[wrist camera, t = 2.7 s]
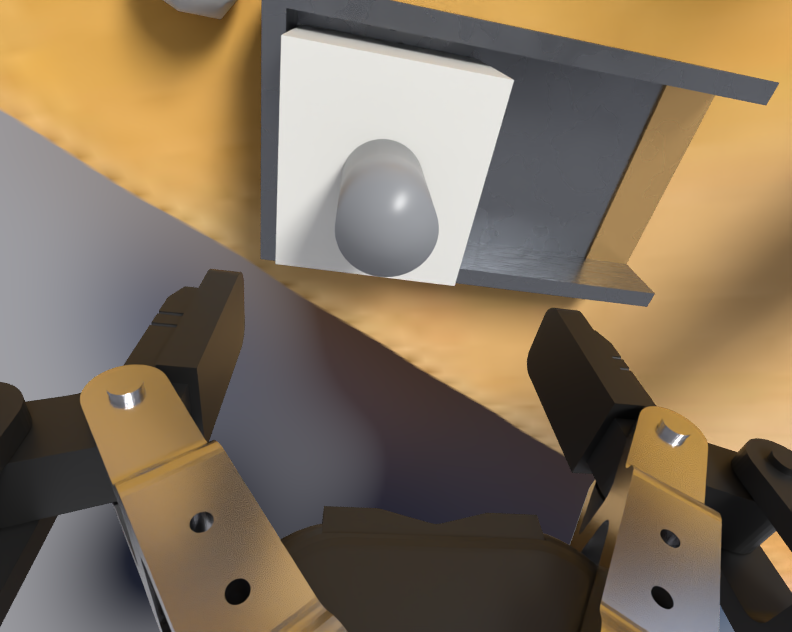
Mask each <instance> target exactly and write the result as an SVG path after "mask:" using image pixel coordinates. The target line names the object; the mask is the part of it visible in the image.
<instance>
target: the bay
mask: <svg viewBox="0 0 792 632" xmlns="http://www.w3.org/2000/svg"><path fill="white" fill-rule="evenodd" d="M302 24H304V25H309V26H314V27H319V28H324V29H329V30H334V31H339V32H344V33H349V34H354V35H359V36H364V37H369V38H374V39H379V40H384V41H389V42H394V43H400V44H405V45H410V46H415V47H420V48H425V49H430V50H435V51H440V52H445V53H450V54H455V55H460V56H465V57H470V58H475V59H479V60H480V61H482V62H484V63H486V64H487V65H489V66H491V67H492V68H494V69H496V70H498V71H499V72H501V73H503V74H504V75H506V76H508V77H510V78H511V79H513V80H514V82H513V86H512V89H511V93H510V96H509V100H508V103H507V106H506V110H505V113H504V117H503V120H502V124H501V127H500V131H499V134H498V138H497V141H496V144H495V148H494V151H493V155H492V158H491V162H490V165H489V169H488V172H487V176H486V179H485V182H484V186H483V189H482V193H481V196H480V200H479V203H478V207H477V210H476V214H475V217H474V220H473V224H472V227H471V231H470V234H469V238H468V241H467V245H466V248H465V252H464V255H463V258H462V262H461V265H460V269H459V272H458V276H457V279H456V283H459V284H467V285H475V286H483V287H491V288H500V289H508V290H516V291H524V292H532V293H540V294H548V295H556V296H564V297H572V298H580V299H589V300H597V301H605V302H613V303H621V304H629V305H637V306H645V307H647V306H648V304H649V303H650V301H651V299H652V297H653V296H654V294H655V293H654V292H653V291H652V290H651V289H650V288H649V287H648V286H647V285H646V284H645V283H644V282H643V281H642V280H641V279H640V278H639V277H638V276H637V275H636V274H635V273H634V272H633V271H632V269H631V268H630V267H629V266H628V265H627V262H628V260H629V258H630V256H631V254H632V252H633V250H634V248H635V247H636V245H637V243H638V241H639V239H640V237H641V235H642V233H643V231H644V229H645V228H646V226H647V224H648V222H649V220H650V218H651V216H652V214H653V212H654V210H655V209H656V207H657V205H658V203H659V201H660V199H661V197H662V195H663V193H664V191H665V189H666V188H667V186H668V184H669V182H670V180H671V178H672V176H673V174H674V172H675V170H676V169H677V167H678V165H679V163H680V161H681V159H682V157H683V155H684V153H685V151H686V150H687V148H688V146H689V144H690V142H691V140H692V138H693V136H694V134H695V132H696V131H697V129H698V127H699V125H700V123H701V121H702V119H703V117H704V115H705V113H706V111H707V110H708V108H709V106H710V104H711V102H712V100H713V98H714V96H715V95H717V96H722V97H727V98H732V99H737V100H742V101H747V102H752V103H757V104H762V105H767V103H768V101H769V100H770V98H771V96H772V94H773V93H774V91H775V89H776V88H777V86H778V84H779V83H778V82H773V81H768V80H764V79H759V78H754V77H750V76H745V75H741V74H736V73H731V72H727V71H722V70H717V69H713V68H708V67H703V66H699V65H694V64H689V63H685V62H680V61H675V60H670V59H666V58H661V57H656V56H652V55H647V54H642V53H637V52H633V51H628V50H623V49H619V48H614V47H609V46H605V45H600V44H595V43H590V42H586V41H581V40H576V39H572V38H567V37H562V36H557V35H553V34H548V33H543V32H539V31H534V30H529V29H524V28H520V27H515V26H510V25H506V24H501V23H496V22H492V21H487V20H482V19H477V18H473V17H468V16H463V15H459V14H454V13H449V12H444V11H440V10H435V9H430V8H426V7H421V6H416V5H411V4H407V3H402V2H397V1H393V0H262V38H261V259H265V260H273V261H276V223H277V184H278V144H279V104H280V65H281V35H282V34H284V33H286V32H288V31H290V30H292V29H294V28H296V27H298V26H300V25H302Z"/></svg>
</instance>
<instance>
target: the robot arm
mask: <svg viewBox="0 0 792 632" xmlns="http://www.w3.org/2000/svg"><path fill="white" fill-rule="evenodd" d="M244 318H245V315H244V280H243V274H242V273H241V272H234V271H224V270H216V269H210V270H208V272H207V274H206V275H205V277H204V279H203V281H202V283H201V284H200V286H199V288H194V287H183V288H182V289H180V290H179V291H177V292H176V293H174V294H172V295H171V296H169V297H168V298H167V299H166V301H165V303H164V304H163V306H162V307H161V309H160V310H159V314H157V315H156V317H155V318H154V320H153V321H152V325H150V326H149V327H148V329H147V330H146V332H145V333H144V335H143V336H142V338H141V339H140V341H139V342H138V344H137V346H136V347H135V349H134V350H133V352H132V353H131V355H130V356H129V358H128V359H127V361H126V363H125V364H124V366H120V367H116V368H113V369H110V370H107V371H105V372H103V373H101V374H99V375H98V376H96V377H94V378H93V379H92V380H91V381H89V383H88V384H87V385H86V386H85V387H84V389H83V390H82V392H81V393H79V394H74V395H69V396H63V397H55V398H48V399H41V400H34V401H28V402H25V400H24V398H23V395H22V393H21V392H20V390H19V389H18V388H16V387H15V386H13V385H10V384H7V383H3V382H0V626H1V624H2V622H3V620H4V618H5V617H6V614H7V613H8V611H9V609H10V606H11V605H12V603H13V601H14V599H15V597H16V595H17V593H18V591H19V589H20V587H21V586H22V583H23V582H24V580H25V578H26V575H27V574H28V572H29V570H30V568H31V566H32V564H33V562H34V560H35V558H36V557H37V555H38V553H39V551H40V549H41V547H42V545H43V543H44V541H45V539H46V537H47V535H48V533H49V531H50V529H51V527H52V526H53V523H54V522H55V520H56V518H57V516H58V515H60V514H65V513H69V512H73V511H77V510H82V509H86V508H90V507H94V506H99V505H103V504H107V503H112V504H113V507H114V509H115V512H116V514H117V517H118V520H119V522H120V525H121V527H122V530H123V533H124V535H125V538H126V540H127V543H128V545H129V548H130V551H131V553H132V556H133V558H134V561H135V564H136V566H137V569H138V571H139V574H140V577H141V579H142V582H143V585H144V587H145V591H146V593H147V596H148V599H149V602H150V605H151V607H152V610H153V613H154V616H155V618H156V621H157V624H158V626H159V629H160V632H719V613H720V605H721V607H722V609H723V611H724V613H725V615H726V616H727V618H728V620H729V622H730V624H731V626H732V627H733V629H734V631H735V632H792V592H791V591H790V590H789V588H788V587H787V585H786V584H785V582H784V581H783V579H782V578H781V576H780V575H779V573H778V572H777V570H776V569H775V567H774V566H773V564H772V563H771V561H770V560H769V558H768V557H767V555H766V554H765V552H764V551H763V549H762V548H761V546H760V544H761V543H763V542H764V541H765V540H766V539H767V538H768V537H770V536H771V535H772V534H773V533H774V532H775V531H777V532H778V534H779V535H780V536H781V538H782V539H783V541H784V542H785V543H786V545H787V546H788V547H789V549H790V550H791V552H792V451H791V450H789V449H787V448H786V447H784V446H782V445H779V444H777V443H775V442H772V441H769V440H765V439H757V438H756V439H751V440H749V441H748V442H747V443H746V444H745V445H744V446H743V447H742V448H741V449H740V451H739V452H735V451H732V450H729V449H725V448H722V447H719V446H716V445H713V444H710V443H707V440H706V438H705V436H704V435H703V433H702V432H701V431H700V430H699V429H698V428H697V427H696V426H695V425H694V424H693V423H692V422H691V421H689V420H688V419H687V418H685V417H683V416H682V415H680V414H678V413H676V412H674V411H672V410H669V409H666V408H662V407H657V406H656V405H655V403H654V402H653V401H652V399H651V398H650V397H649V395H648V394H647V392H646V391H645V390H644V388H643V387H642V385H641V384H640V383H639V381H638V380H637V378H636V377H635V376H634V374H633V373H632V372H631V371H629V367H628V366H627V365H626V363H625V362H624V360H622V359H621V356H620V355H619V353H618V352H617V351H616V349H615V348H614V347H613V345H612V344H611V343H610V342H609V341H608V340H606V339H605V338H604V337H603V336H602V335H600V334H599V333H598V332H597V331H594V330H593V329H592V327H591V326H590V324H589V323H588V321H587V320H586V319H585V317H584V316H583V314H582V313H581V312H580V311H576V310H567V309H558V308H550V309H549V310H548V311H547V312H546V314H545V316H544V318H543V320H542V323H541V325H540V327H539V330H538V332H537V334H536V337H535V339H534V341H533V344H532V346H531V348H530V351H529V354H528V358H527V370H528V374H529V376H530V379H531V381H532V383H533V385H534V388H535V390H536V392H537V394H538V397H539V399H540V401H541V403H542V406H543V408H544V410H545V413H546V415H547V417H548V419H549V422H550V424H551V426H552V428H553V431H554V433H555V435H556V437H557V440H558V442H559V444H560V447H561V449H562V451H563V453H564V456H565V458H566V460H567V462H568V465H569V467H570V469H571V471H572V473H587V474H593V476H594V478H595V480H594V482H593V483H592V485H591V486H590V488H589V491H588V494H587V496H586V499H585V502H584V505H583V508H582V511H581V514H580V517H579V520H578V522H577V526H576V528H575V531H574V534H573V537H572V540H571V543H570V545H568V544H566V543H564V542H562V541H560V540H558V539H556V538H554V537H551V536H549V535H547V534H543V532H542V530H541V526H540V524H539V520H538V518H537V515H525V514H524V515H523V514H501V513H485V514H480V515H477V516H472V517H468V518H463V519H459V520H455V521H451V522H446V523H442V524H432V523H428V522H424V521H421V520H417V519H414V518H410V517H407V516H403V515H400V514H396V513H393V512H390V511H386V510H382V509H378V508H377V509H376V508H354V507H331V506H324V511H323V519H322V524H318V525H314V526H310V527H307V528H304V529H301V530H299V531H296V532H294V533H292V534H290V535H288V536H286V537H284V538H282V539H281V540H280V538H279V537H278V535H277V534H276V532H275V530H274V529H273V527H272V526H271V524H270V522H269V521H268V519H267V518H266V516H265V514H264V513H263V511H262V510H261V508H260V507H259V505H258V503H257V502H256V500H255V499H254V497H253V495H252V494H251V492H250V491H249V489H248V487H247V486H246V484H245V483H244V481H243V479H242V478H241V476H240V475H239V473H238V471H237V470H236V468H235V467H234V465H233V463H232V462H231V460H230V459H229V457H228V456H227V454H226V452H225V451H224V449H223V448H222V446H221V445H220V444H219V443H218V442H217V441H215V440H213V441H210V442H209V440H210V437H211V434H212V431H213V428H214V425H215V422H216V419H217V417H218V414H219V411H220V408H221V405H222V402H223V399H224V396H225V393H226V390H227V388H228V385H229V382H230V379H231V376H232V373H233V370H234V368H235V365H236V362H237V359H238V356H239V353H240V350H241V347H242V343H243V337H244V328H245V319H244Z"/></svg>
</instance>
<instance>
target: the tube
mask: <svg viewBox="0 0 792 632" xmlns="http://www.w3.org/2000/svg"><path fill="white" fill-rule="evenodd" d="M163 1H165V2H166V3H168V4H169V5H170V6H172V7H173V8H175V9H176V10H177V11H181V12H186V13H191V14H196V15H201V16H206V17H211V18H216V19H222V17H223V16H224V15H225V14H226V13H227V12H228V10H229V9H230V8H231V7H232V6H233V5H234V3H235V2H236V1H237V0H163Z"/></svg>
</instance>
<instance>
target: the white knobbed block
mask: <svg viewBox="0 0 792 632" xmlns="http://www.w3.org/2000/svg"><path fill="white" fill-rule="evenodd" d="M513 82H514V80H513V79H511V78H510V77H508V76H506V75H504V74H503V73H501V72H499V71H498V70H496V69H494V68H492V67H491V66H489V65H487V64H486V63H484V62H482V61H480V60H479V59H475V58H470V57H465V56H460V55H455V54H450V53H445V52H440V51H435V50H430V49H425V48H420V47H415V46H410V45H405V44H400V43H394V42H389V41H384V40H379V39H374V38H369V37H364V36H359V35H354V34H349V33H344V32H339V31H334V30H329V29H324V28H319V27H314V26H309V25H304V24H302V25H300V26H298V27H296V28H294V29H292V30H290V31H288V32H286V33H284V34H282V35H281V65H280V104H279V144H278V184H277V223H276V263H275V264H280V265H288V266H296V267H304V268H312V269H320V270H328V271H337V272H345V273H353V274H361V275H369V276H377V277H386V278H394V279H402V280H410V281H418V282H426V283H434V284H443V285H451V286H455V283H456V279H457V276H458V272H459V269H460V265H461V262H462V258H463V255H464V252H465V248H466V245H467V241H468V238H469V234H470V231H471V227H472V224H473V220H474V217H475V214H476V210H477V207H478V203H479V200H480V196H481V193H482V189H483V186H484V182H485V179H486V176H487V172H488V169H489V165H490V162H491V158H492V155H493V151H494V148H495V144H496V141H497V138H498V134H499V131H500V127H501V124H502V120H503V117H504V113H505V110H506V106H507V103H508V100H509V96H510V93H511V89H512V86H513Z"/></svg>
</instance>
